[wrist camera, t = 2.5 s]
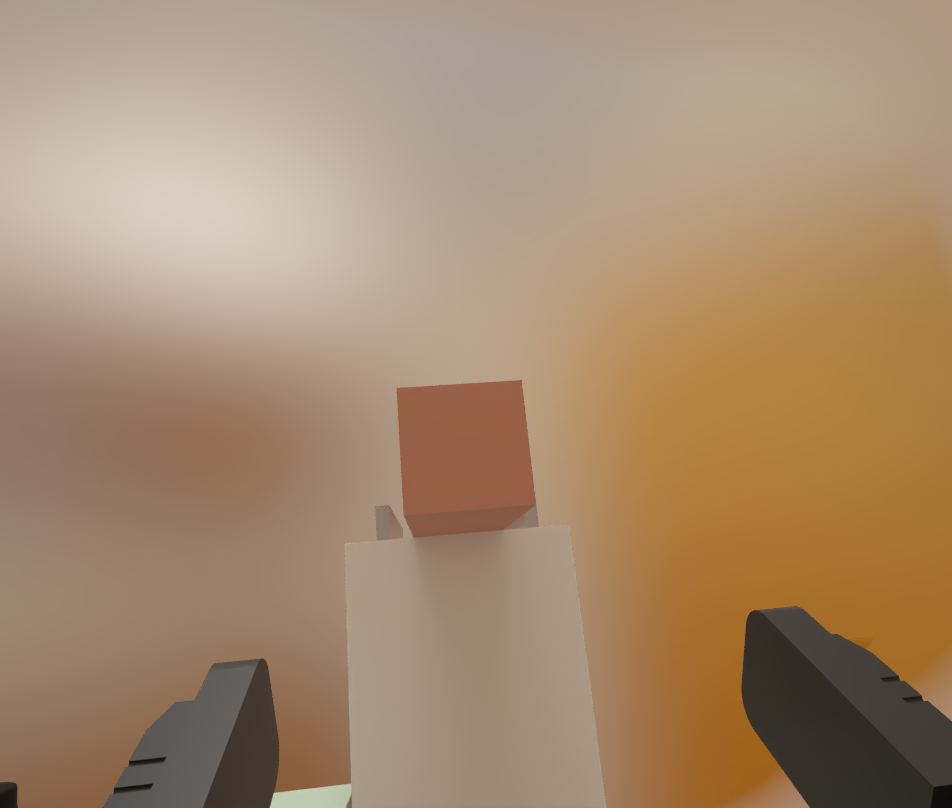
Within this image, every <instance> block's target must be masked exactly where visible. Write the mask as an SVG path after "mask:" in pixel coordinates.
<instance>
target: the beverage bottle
mask: <svg viewBox="0 0 952 808" xmlns="http://www.w3.org/2000/svg"><path fill="white" fill-rule="evenodd" d="M0 808H18V806H17V784H16V783H12V782H11V783H10V782H3V783H0Z"/></svg>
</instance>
